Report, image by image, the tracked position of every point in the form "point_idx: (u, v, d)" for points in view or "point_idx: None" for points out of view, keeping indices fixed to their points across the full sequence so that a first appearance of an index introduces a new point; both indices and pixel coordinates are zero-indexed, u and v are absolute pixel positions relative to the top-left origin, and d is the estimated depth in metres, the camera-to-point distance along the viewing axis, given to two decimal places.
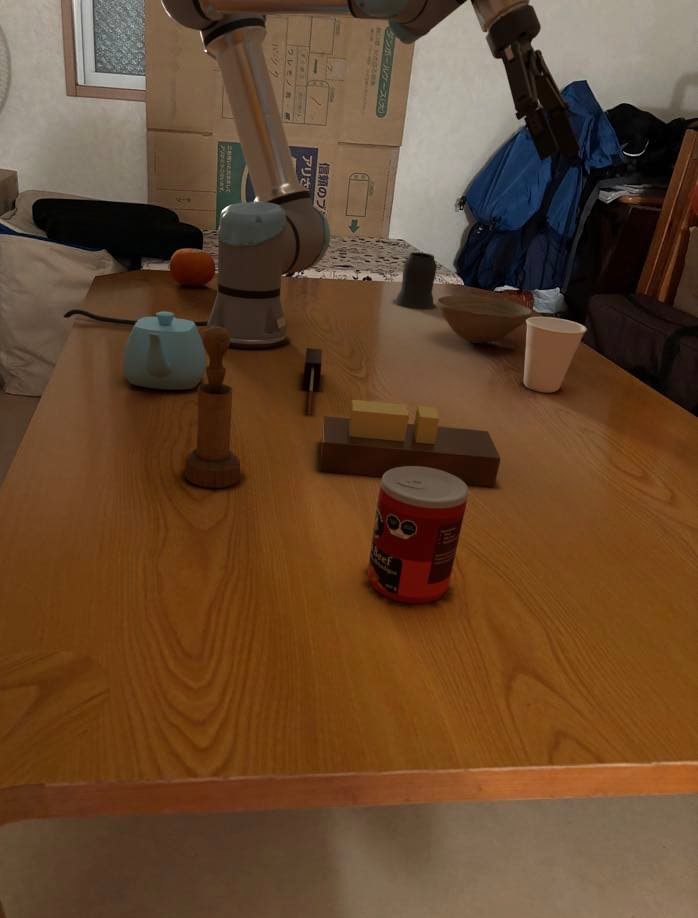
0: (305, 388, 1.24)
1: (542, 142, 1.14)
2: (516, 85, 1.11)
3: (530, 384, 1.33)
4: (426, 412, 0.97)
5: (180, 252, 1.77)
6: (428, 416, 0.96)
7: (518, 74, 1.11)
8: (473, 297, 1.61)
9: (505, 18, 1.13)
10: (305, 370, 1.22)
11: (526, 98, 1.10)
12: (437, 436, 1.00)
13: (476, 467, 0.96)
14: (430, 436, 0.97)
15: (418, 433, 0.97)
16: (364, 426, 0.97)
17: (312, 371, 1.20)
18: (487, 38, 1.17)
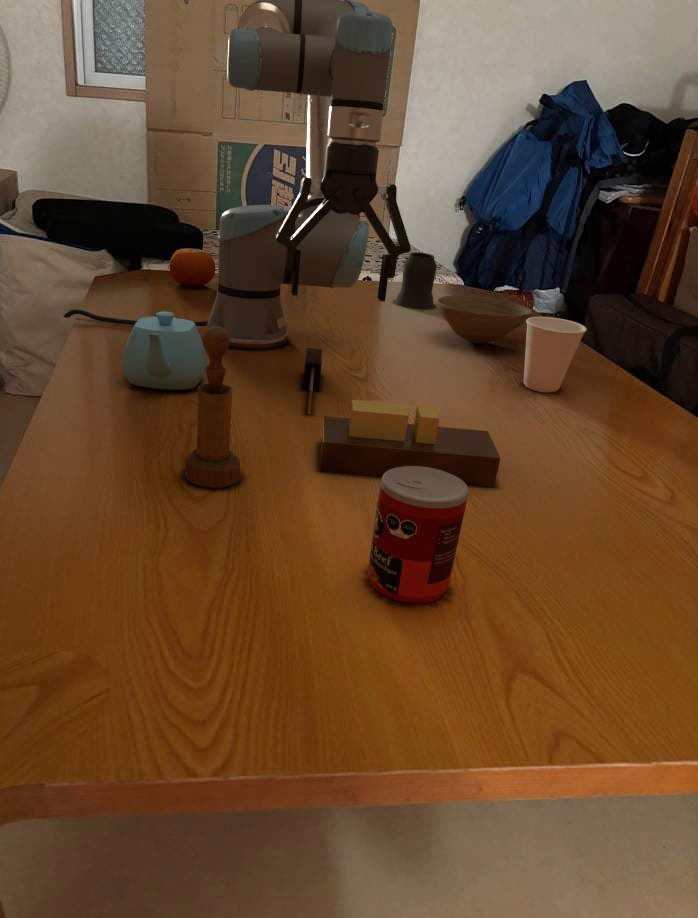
0: (305, 388, 1.24)
1: (292, 279, 1.18)
2: (286, 218, 1.14)
3: (530, 384, 1.33)
4: (426, 412, 0.97)
5: (180, 252, 1.77)
6: (428, 416, 0.96)
7: (291, 209, 1.13)
8: (473, 297, 1.61)
9: (328, 146, 1.09)
10: (305, 370, 1.22)
11: (277, 236, 1.14)
12: (437, 436, 1.00)
13: (476, 467, 0.96)
14: (430, 436, 0.97)
15: (418, 433, 0.97)
16: (364, 426, 0.97)
17: (312, 371, 1.20)
18: None
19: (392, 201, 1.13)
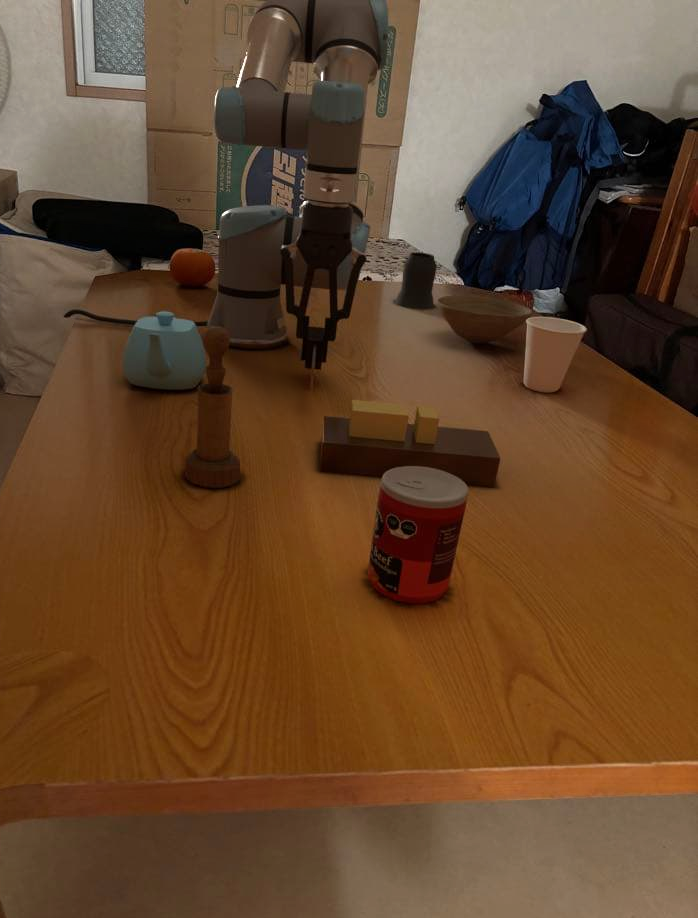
0: (307, 366, 1.22)
1: None
2: None
3: (530, 384, 1.33)
4: (426, 412, 0.97)
5: (180, 252, 1.77)
6: (428, 416, 0.96)
7: None
8: (473, 297, 1.61)
9: (303, 206, 1.14)
10: (307, 348, 1.21)
11: None
12: (437, 436, 1.00)
13: (476, 467, 0.96)
14: (430, 436, 0.97)
15: (418, 433, 0.97)
16: (364, 426, 0.97)
17: (314, 349, 1.18)
18: None
19: (356, 269, 1.17)
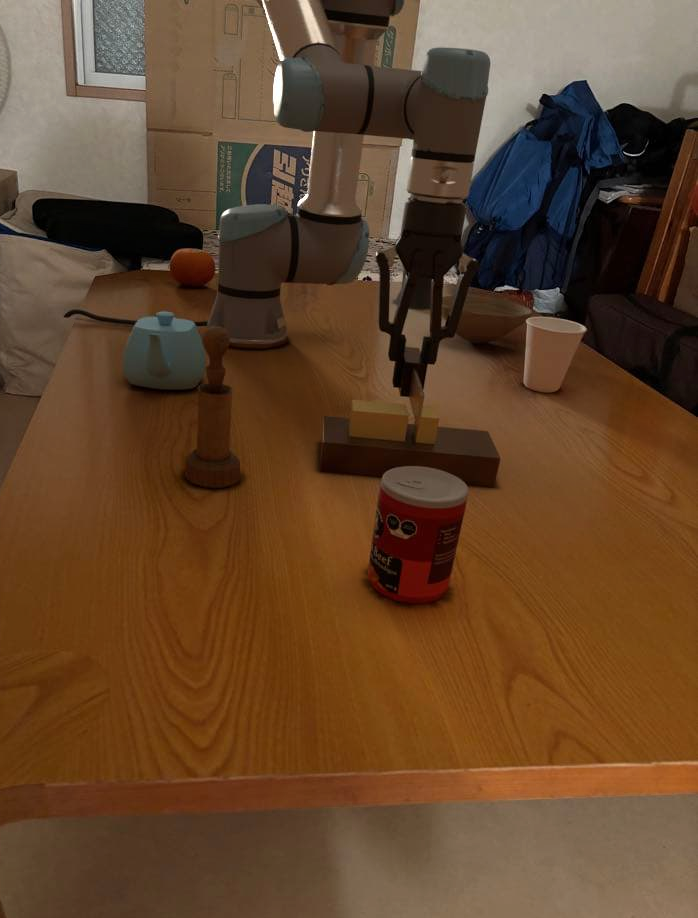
0: (403, 394, 1.02)
1: (395, 368, 1.05)
2: (379, 302, 1.01)
3: (530, 384, 1.33)
4: (426, 412, 0.97)
5: (180, 252, 1.77)
6: (428, 416, 0.96)
7: None
8: (473, 297, 1.61)
9: (406, 203, 0.94)
10: (405, 372, 1.00)
11: None
12: (437, 436, 1.00)
13: (476, 467, 0.96)
14: (430, 436, 0.97)
15: (418, 433, 0.97)
16: (364, 426, 0.97)
17: (416, 373, 0.98)
18: None
19: (467, 278, 0.97)
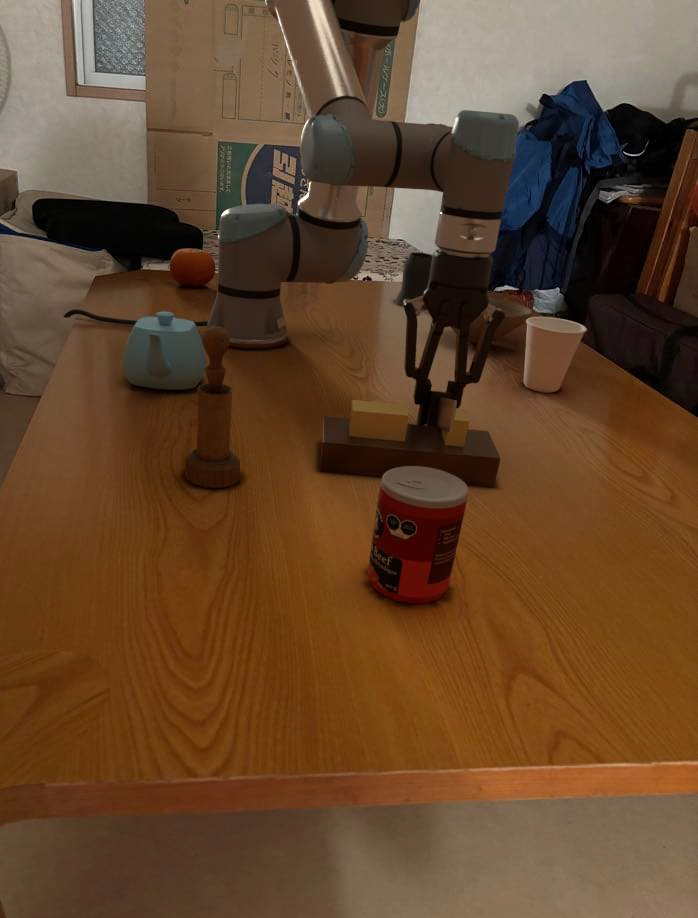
0: (431, 424, 1.04)
1: (419, 411, 1.08)
2: None
3: (530, 384, 1.33)
4: (456, 415, 0.97)
5: (180, 252, 1.77)
6: (457, 418, 0.96)
7: (406, 339, 1.02)
8: None
9: (434, 255, 0.97)
10: (432, 401, 1.03)
11: None
12: (437, 436, 1.00)
13: (476, 467, 0.96)
14: (460, 439, 0.97)
15: (448, 436, 0.97)
16: (364, 426, 0.97)
17: None
18: None
19: (492, 327, 1.00)
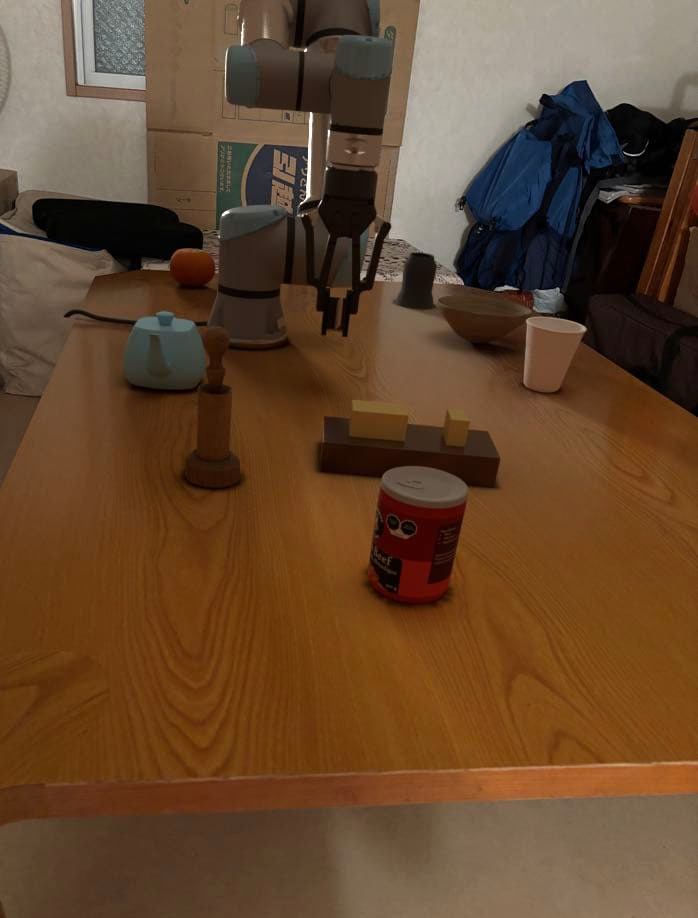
0: (330, 326, 1.16)
1: (322, 318, 1.19)
2: None
3: (530, 384, 1.33)
4: (456, 415, 0.97)
5: (180, 252, 1.77)
6: (458, 418, 0.96)
7: None
8: (473, 297, 1.61)
9: (325, 170, 1.08)
10: (330, 306, 1.15)
11: (307, 278, 1.16)
12: (437, 436, 1.00)
13: (476, 467, 0.96)
14: (461, 439, 0.97)
15: (448, 436, 0.97)
16: (364, 426, 0.97)
17: (338, 301, 1.12)
18: None
19: (380, 237, 1.12)
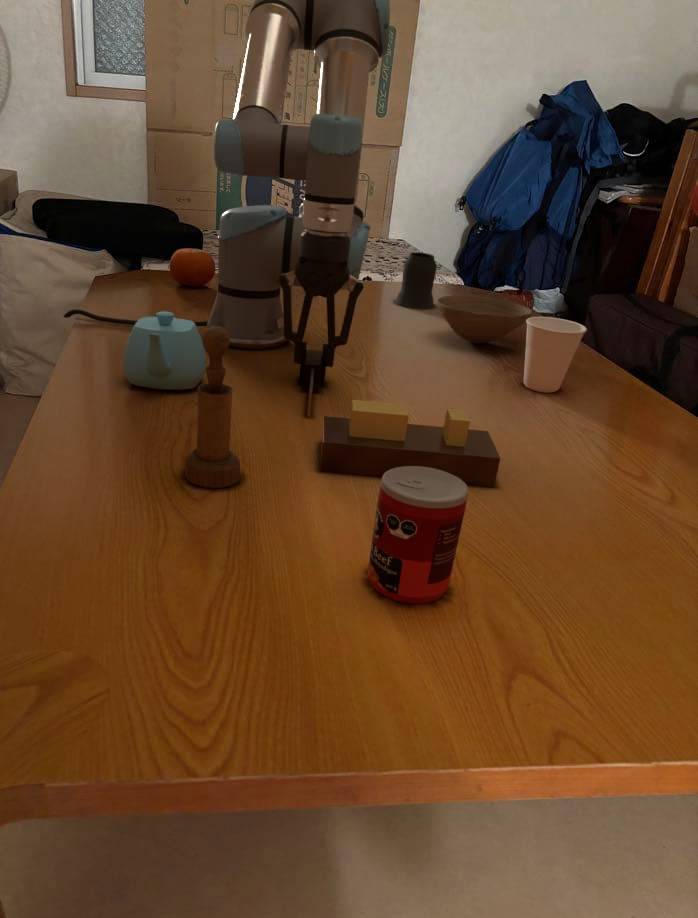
0: (305, 390, 1.23)
1: None
2: None
3: (530, 384, 1.33)
4: (456, 415, 0.97)
5: (180, 252, 1.77)
6: (458, 418, 0.96)
7: None
8: (473, 297, 1.61)
9: (301, 235, 1.15)
10: (305, 372, 1.21)
11: None
12: (437, 436, 1.00)
13: (476, 467, 0.96)
14: (461, 439, 0.97)
15: (448, 436, 0.97)
16: (364, 426, 0.97)
17: (312, 373, 1.19)
18: None
19: (353, 296, 1.19)
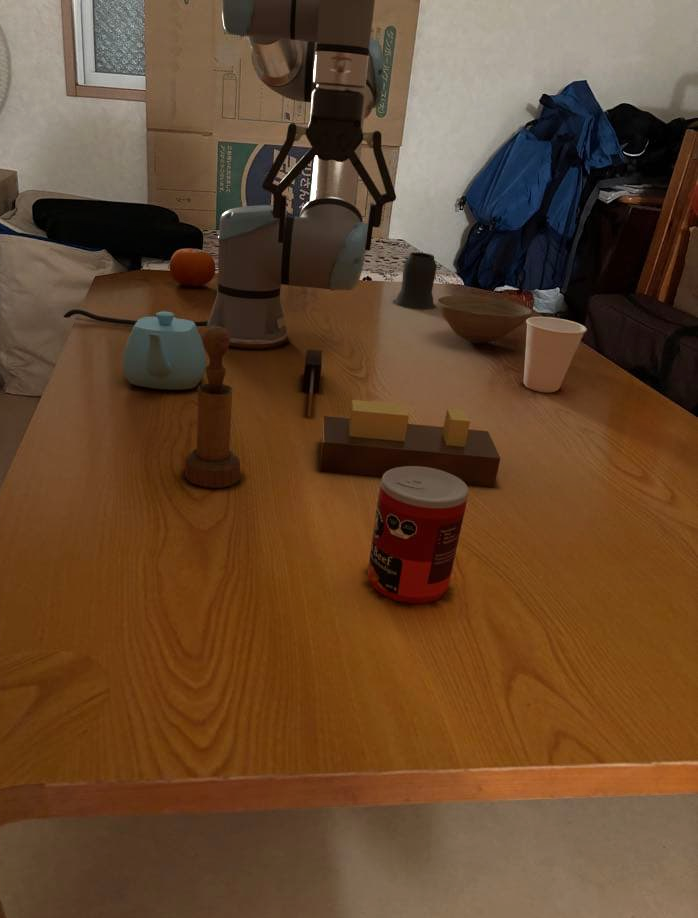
0: (305, 390, 1.23)
1: None
2: None
3: (530, 384, 1.33)
4: (456, 415, 0.97)
5: (180, 252, 1.77)
6: (458, 418, 0.96)
7: None
8: (473, 297, 1.61)
9: (313, 92, 1.11)
10: (305, 372, 1.21)
11: (263, 183, 1.17)
12: (437, 436, 1.00)
13: (476, 467, 0.96)
14: (461, 439, 0.97)
15: (448, 436, 0.97)
16: (364, 426, 0.97)
17: (312, 373, 1.19)
18: None
19: (377, 148, 1.13)
